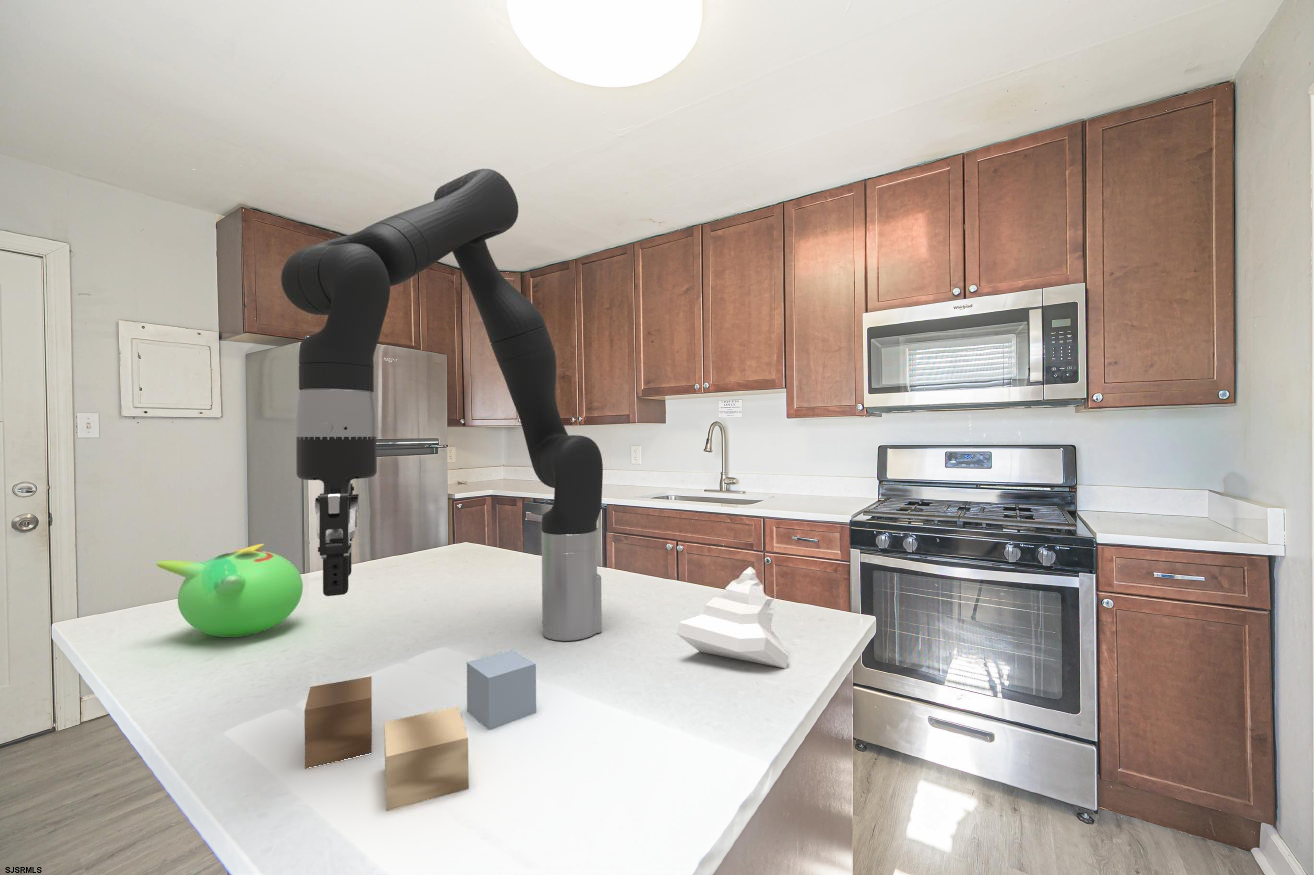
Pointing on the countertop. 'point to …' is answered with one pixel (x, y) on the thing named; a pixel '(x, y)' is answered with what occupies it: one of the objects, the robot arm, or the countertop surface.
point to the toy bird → (237, 591)
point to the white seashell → (737, 625)
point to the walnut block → (338, 721)
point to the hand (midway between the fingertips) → (338, 584)
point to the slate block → (501, 688)
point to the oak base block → (425, 757)
